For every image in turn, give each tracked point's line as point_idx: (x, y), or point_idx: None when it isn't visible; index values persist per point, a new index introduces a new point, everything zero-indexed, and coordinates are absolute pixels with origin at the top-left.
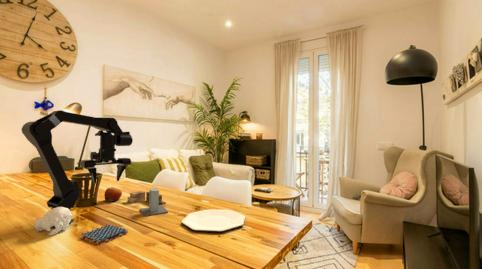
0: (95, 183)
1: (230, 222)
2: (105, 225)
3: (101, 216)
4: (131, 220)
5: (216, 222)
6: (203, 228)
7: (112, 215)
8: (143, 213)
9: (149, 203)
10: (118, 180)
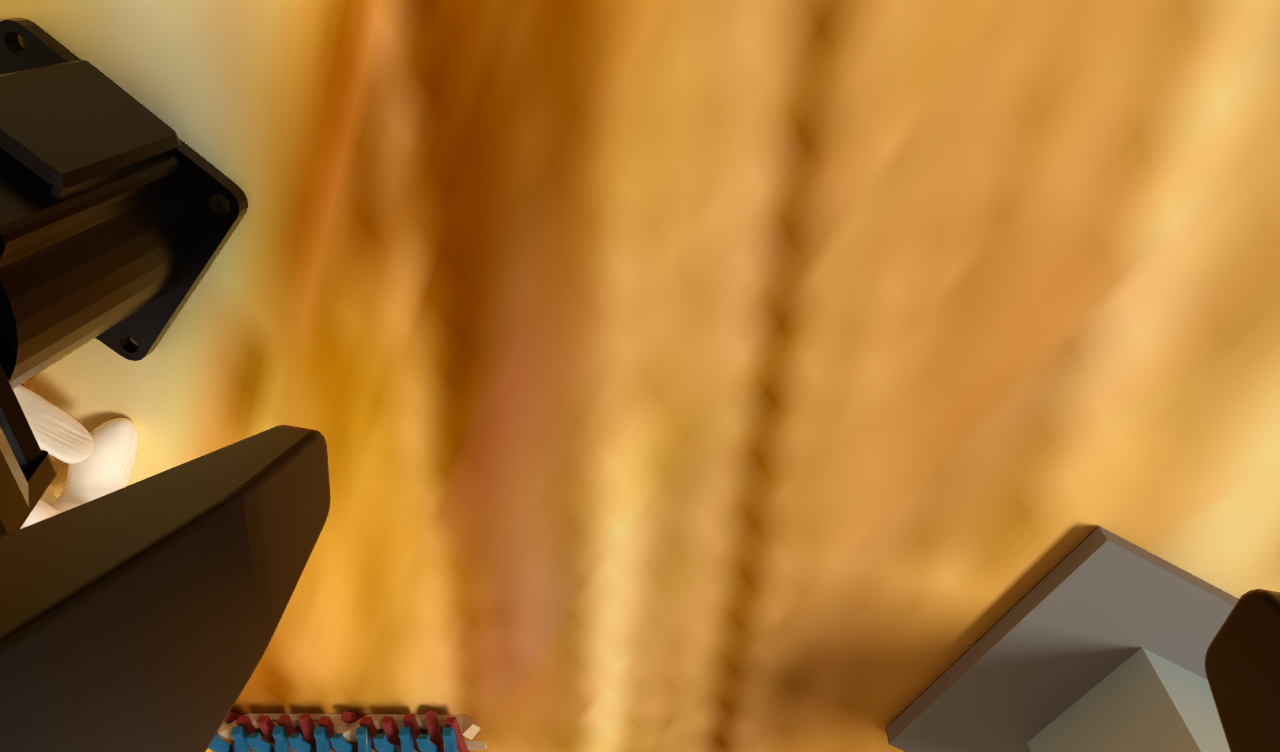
0: (309, 524)
1: None
2: (417, 739)
3: (593, 330)
4: (723, 717)
5: None
6: None
7: (711, 416)
8: (937, 710)
9: (1172, 731)
10: (1232, 690)
